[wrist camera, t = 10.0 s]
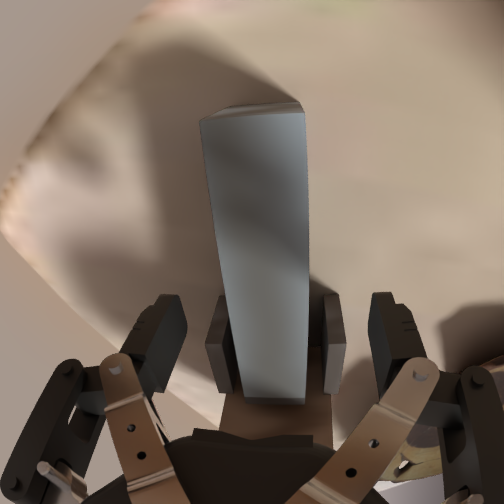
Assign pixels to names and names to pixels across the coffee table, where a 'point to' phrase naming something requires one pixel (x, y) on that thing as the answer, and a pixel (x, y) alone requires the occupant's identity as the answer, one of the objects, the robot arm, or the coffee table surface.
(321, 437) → the dark u-channel
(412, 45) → the coffee table surface
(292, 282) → the gray rectangular block
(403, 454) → the cracked wood slice
